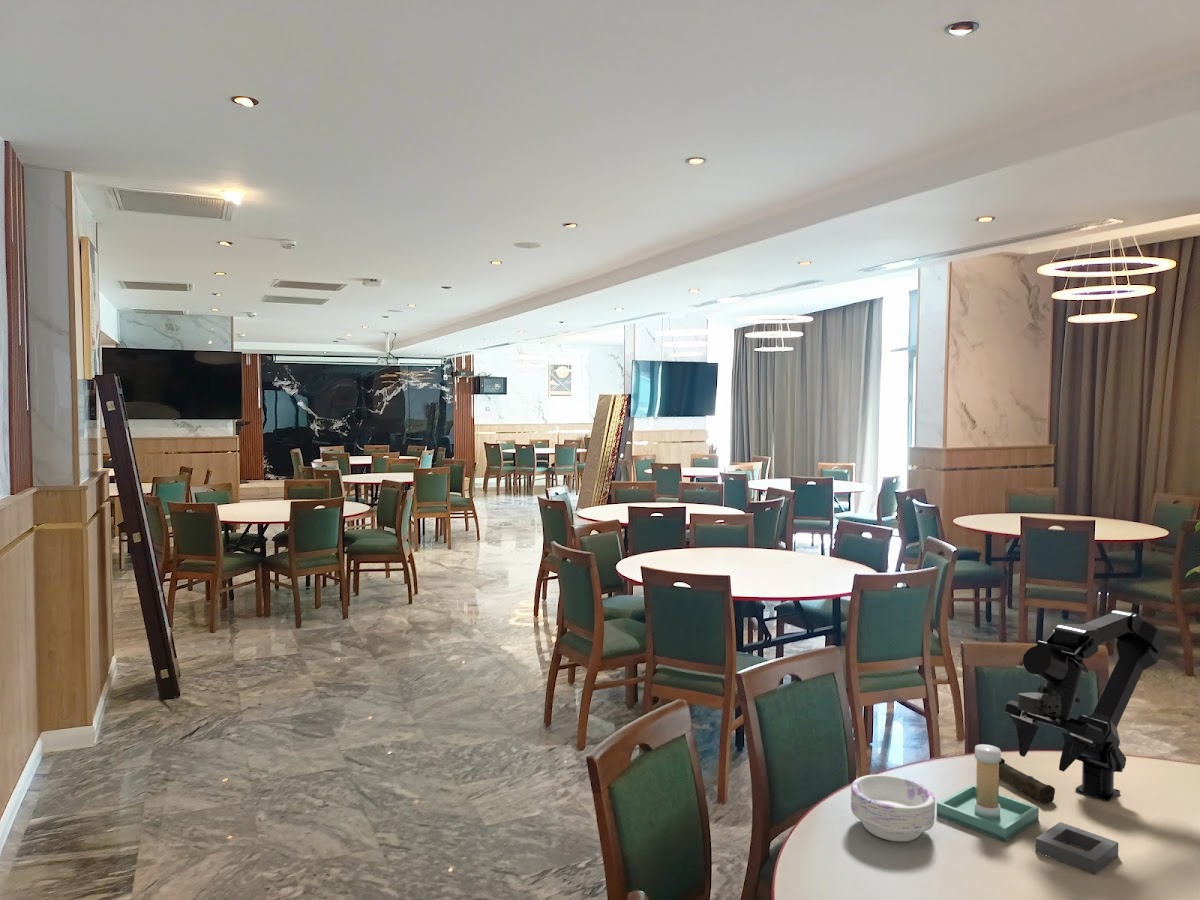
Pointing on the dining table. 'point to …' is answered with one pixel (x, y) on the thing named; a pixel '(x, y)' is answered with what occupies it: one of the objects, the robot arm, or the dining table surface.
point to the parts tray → (1005, 827)
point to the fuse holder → (1091, 861)
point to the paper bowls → (892, 806)
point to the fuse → (987, 781)
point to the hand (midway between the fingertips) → (1041, 763)
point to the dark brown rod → (1026, 783)
